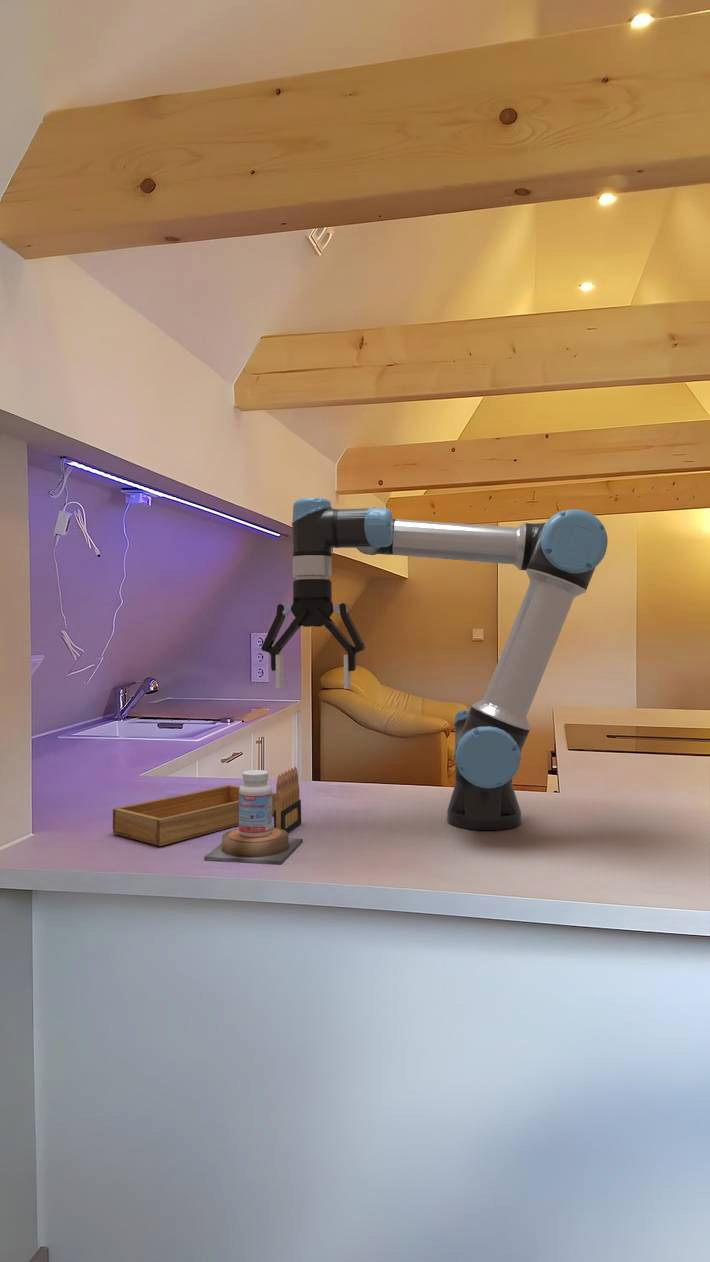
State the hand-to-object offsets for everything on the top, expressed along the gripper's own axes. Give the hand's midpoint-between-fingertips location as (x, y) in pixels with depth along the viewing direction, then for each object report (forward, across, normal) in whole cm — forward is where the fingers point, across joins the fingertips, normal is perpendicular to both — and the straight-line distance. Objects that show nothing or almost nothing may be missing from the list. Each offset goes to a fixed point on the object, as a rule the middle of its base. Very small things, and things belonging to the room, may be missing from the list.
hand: (313, 688), depth 151 cm
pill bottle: (+26, +8, +12) cm, 30 cm away
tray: (+29, +26, -4) cm, 39 cm away
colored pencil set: (+29, +6, -3) cm, 30 cm away
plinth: (+29, +8, +12) cm, 32 cm away
